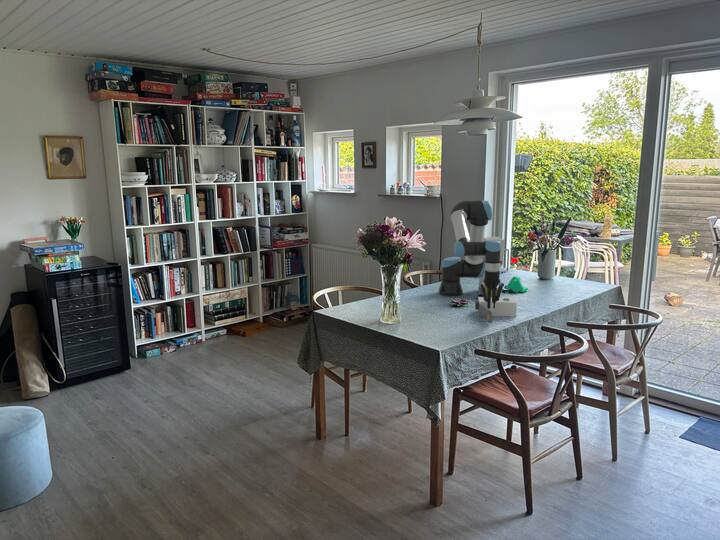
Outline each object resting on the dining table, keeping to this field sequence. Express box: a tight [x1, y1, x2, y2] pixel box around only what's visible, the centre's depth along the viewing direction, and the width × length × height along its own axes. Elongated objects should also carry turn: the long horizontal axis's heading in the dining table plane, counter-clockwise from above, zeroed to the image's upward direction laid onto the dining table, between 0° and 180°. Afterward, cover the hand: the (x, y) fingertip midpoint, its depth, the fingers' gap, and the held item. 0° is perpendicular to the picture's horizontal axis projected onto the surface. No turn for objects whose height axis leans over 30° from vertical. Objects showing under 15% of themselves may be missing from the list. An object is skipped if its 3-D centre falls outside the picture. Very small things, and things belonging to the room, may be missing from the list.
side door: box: [478, 304, 493, 324], centre depth 290 cm, size 17×2×6 cm, turn 8°
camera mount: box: [505, 275, 529, 293], centre depth 351 cm, size 12×8×10 cm, turn 45°
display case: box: [478, 236, 506, 293], centre depth 347 cm, size 11×11×35 cm
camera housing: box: [474, 296, 518, 318], centre depth 302 cm, size 22×10×9 cm, turn 81°
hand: (490, 314), depth 285 cm, fingers closed
